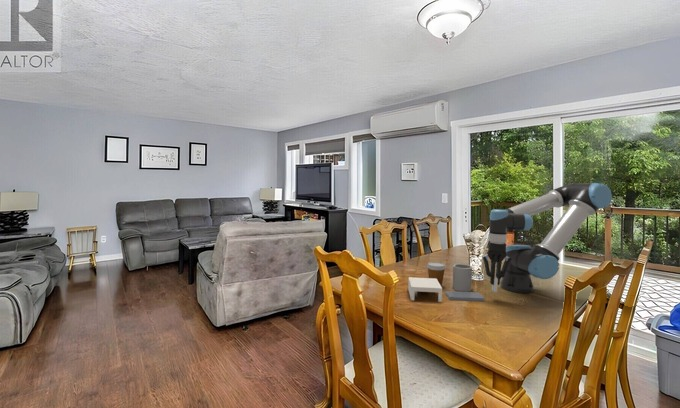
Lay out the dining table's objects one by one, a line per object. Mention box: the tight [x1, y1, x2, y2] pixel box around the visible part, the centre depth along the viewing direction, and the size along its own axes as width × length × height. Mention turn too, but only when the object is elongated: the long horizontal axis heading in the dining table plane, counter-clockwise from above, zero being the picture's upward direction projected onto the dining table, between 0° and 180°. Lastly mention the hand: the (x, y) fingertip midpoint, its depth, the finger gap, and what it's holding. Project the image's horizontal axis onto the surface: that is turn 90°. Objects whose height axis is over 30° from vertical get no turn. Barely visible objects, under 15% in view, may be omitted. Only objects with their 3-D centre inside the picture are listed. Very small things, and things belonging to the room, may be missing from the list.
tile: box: [445, 290, 486, 302], centre depth 154 cm, size 16×8×2 cm, turn 85°
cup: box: [452, 263, 473, 292], centre depth 166 cm, size 9×9×12 cm
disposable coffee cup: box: [426, 261, 447, 288], centre depth 170 cm, size 10×10×12 cm
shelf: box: [407, 276, 443, 303], centre depth 156 cm, size 14×15×6 cm
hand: (494, 291), depth 152 cm, fingers closed
